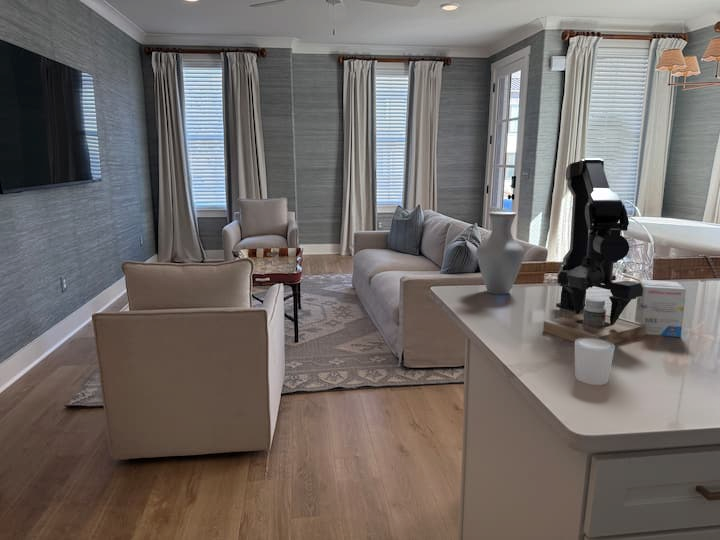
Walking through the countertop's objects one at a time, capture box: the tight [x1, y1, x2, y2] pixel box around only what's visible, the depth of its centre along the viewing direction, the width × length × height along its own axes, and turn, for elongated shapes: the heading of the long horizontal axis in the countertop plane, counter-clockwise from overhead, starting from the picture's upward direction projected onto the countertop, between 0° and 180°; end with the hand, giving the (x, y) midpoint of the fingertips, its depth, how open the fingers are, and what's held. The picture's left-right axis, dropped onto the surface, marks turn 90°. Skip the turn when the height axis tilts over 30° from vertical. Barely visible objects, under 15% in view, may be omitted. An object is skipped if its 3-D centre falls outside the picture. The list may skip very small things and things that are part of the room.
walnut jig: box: [542, 312, 646, 345], centre depth 121 cm, size 18×14×3 cm
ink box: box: [634, 278, 687, 338], centre depth 122 cm, size 9×8×12 cm
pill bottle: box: [583, 296, 607, 329], centre depth 120 cm, size 5×5×8 cm
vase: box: [476, 211, 526, 296], centre depth 158 cm, size 14×14×25 cm
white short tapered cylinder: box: [574, 338, 616, 386], centre depth 95 cm, size 7×7×7 cm
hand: (594, 318), depth 121 cm, fingers open, 9 cm apart
